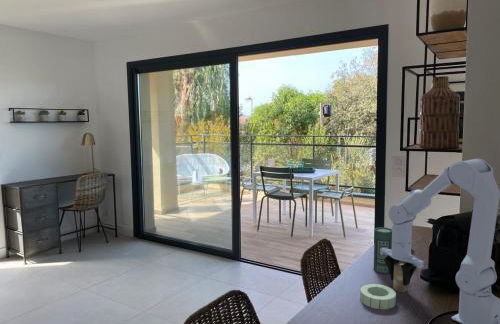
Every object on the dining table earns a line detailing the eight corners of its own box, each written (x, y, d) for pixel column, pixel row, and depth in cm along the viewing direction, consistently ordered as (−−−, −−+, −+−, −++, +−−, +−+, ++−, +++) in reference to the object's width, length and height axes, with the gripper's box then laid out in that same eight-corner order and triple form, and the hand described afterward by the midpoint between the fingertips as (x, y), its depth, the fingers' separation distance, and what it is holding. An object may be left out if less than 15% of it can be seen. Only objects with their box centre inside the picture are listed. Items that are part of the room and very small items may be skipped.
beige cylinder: (409, 290, 121) (410, 266, 120) (401, 293, 119) (402, 269, 118) (398, 285, 125) (399, 262, 124) (390, 288, 123) (391, 264, 122)
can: (391, 267, 139) (392, 228, 137) (391, 274, 133) (392, 233, 131) (374, 265, 141) (375, 226, 139) (373, 272, 135) (374, 231, 133)
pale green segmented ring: (402, 302, 113) (402, 293, 113) (380, 312, 108) (380, 302, 107) (375, 290, 122) (375, 281, 121) (353, 298, 116) (353, 289, 116)
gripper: (430, 245, 116) (428, 287, 118) (390, 233, 128) (389, 271, 130) (416, 250, 112) (414, 293, 114) (376, 237, 124) (375, 276, 126)
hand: (400, 282), depth 122 cm, fingers closed on beige cylinder, 4 cm apart
